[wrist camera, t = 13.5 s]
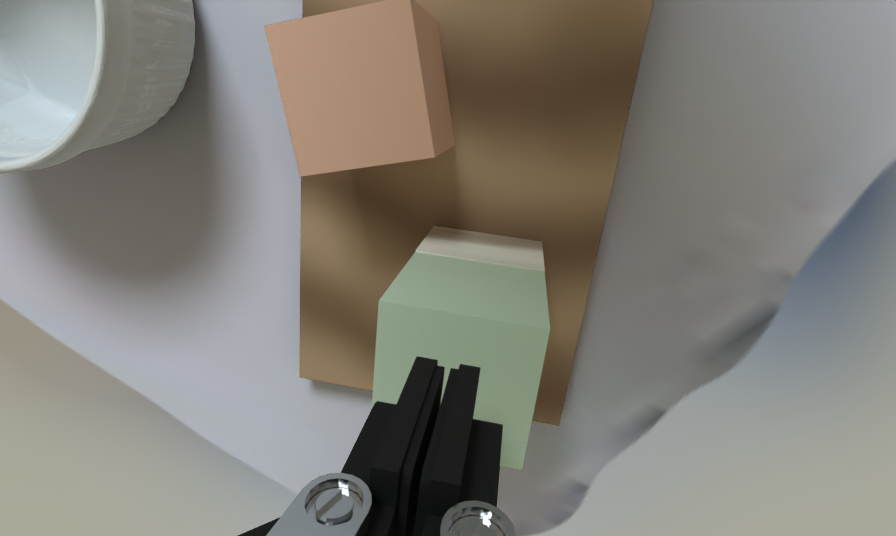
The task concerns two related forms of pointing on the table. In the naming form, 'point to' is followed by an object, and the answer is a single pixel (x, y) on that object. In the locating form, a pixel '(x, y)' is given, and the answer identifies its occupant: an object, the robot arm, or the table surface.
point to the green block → (468, 337)
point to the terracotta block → (362, 86)
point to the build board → (481, 178)
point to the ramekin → (87, 74)
